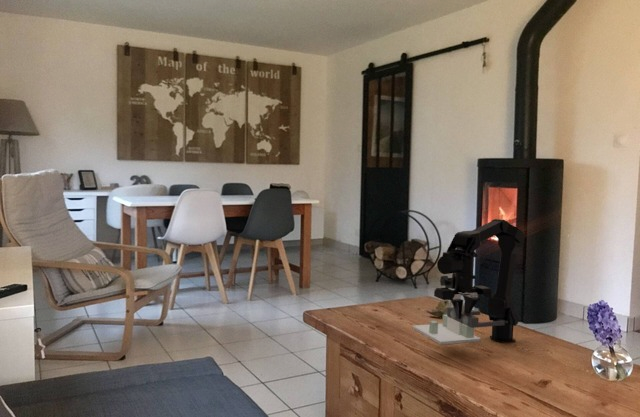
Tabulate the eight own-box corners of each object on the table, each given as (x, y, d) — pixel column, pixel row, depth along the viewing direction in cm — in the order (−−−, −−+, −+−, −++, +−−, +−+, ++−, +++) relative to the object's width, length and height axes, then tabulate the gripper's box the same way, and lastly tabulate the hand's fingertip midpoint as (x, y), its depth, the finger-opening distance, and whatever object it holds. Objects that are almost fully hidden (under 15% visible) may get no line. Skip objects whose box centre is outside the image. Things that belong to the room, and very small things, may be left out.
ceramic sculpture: (461, 301, 210) (425, 297, 219) (461, 323, 211) (425, 318, 219) (471, 296, 219) (436, 293, 228) (471, 318, 219) (436, 313, 228)
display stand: (449, 325, 208) (450, 307, 207) (480, 341, 189) (481, 321, 188) (412, 328, 203) (413, 309, 202) (440, 344, 184) (441, 324, 183)
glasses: (478, 313, 187) (478, 305, 187) (504, 325, 174) (504, 315, 174) (446, 316, 183) (447, 307, 183) (471, 327, 170) (471, 318, 170)
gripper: (473, 266, 187) (471, 310, 188) (426, 267, 180) (424, 314, 181) (494, 272, 176) (492, 319, 177) (444, 274, 170) (442, 323, 171)
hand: (462, 318), depth 177 cm, fingers closed on glasses, 2 cm apart
